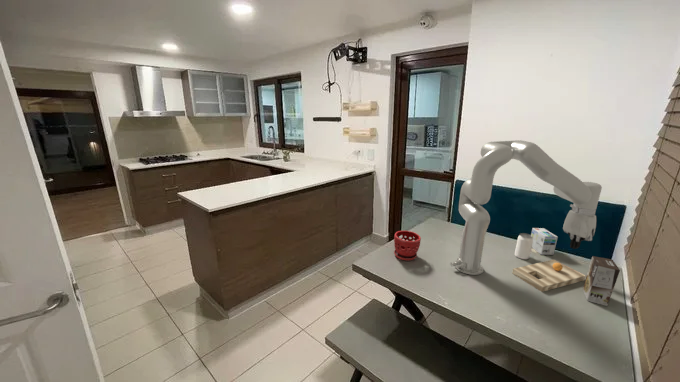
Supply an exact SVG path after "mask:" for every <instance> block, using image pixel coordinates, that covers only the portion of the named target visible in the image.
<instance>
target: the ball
mask: <svg viewBox="0 0 680 382" xmlns="http://www.w3.org/2000/svg"><path fill="white" fill-rule="evenodd" d="M560 263H561V262H560ZM560 263H554V264H553V268H554V269H555V270H557V271H560V270H562V268H563V266H562V265H561V264H560Z"/></svg>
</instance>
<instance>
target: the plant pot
mask: <svg viewBox="0 0 680 382" xmlns="http://www.w3.org/2000/svg"><path fill="white" fill-rule="evenodd" d="M400 236H401V238H400ZM421 240H422V238H421V236H420V235H419V234H418V233H417V232H414V231H410V230H398V231H396V232H395V233H394V236H393V242H394V243H393V245H394V251H393V254H394V256H395V257H396V258H398V259H399V260H401V261H402V260H403V261H408V262H409V261H413V260H415V259H416V258H417V255H418V251H419V249H420V246H421Z"/></svg>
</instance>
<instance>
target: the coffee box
mask: <svg viewBox="0 0 680 382" xmlns="http://www.w3.org/2000/svg"><path fill="white" fill-rule="evenodd" d="M620 271H621V270H620V268H619V267H618V265H617V264H616V263H615V261H614V259H612V258H611V259H610V258H605V257H599V256H594V255H592V257H591V258H590V263H589V266H588V270H587V273H586V277H585V280H584V284H583V287H582V290H583V293H584V296H585V299H586V301H587V302H591V303H594V304H598V305H601V306H605V307H607V306H609V303H610V299H611V297H612V294H613V292H614V289H615V286H616V283H617V280H618V277H619V275H620V274H619V273H621V272H620Z"/></svg>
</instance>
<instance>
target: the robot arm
mask: <svg viewBox="0 0 680 382" xmlns="http://www.w3.org/2000/svg"><path fill="white" fill-rule="evenodd" d="M480 155H481V157H480V159H479V160H478V161H477V162H476V163H475V165H474V167H473V169H472V174H471V178H468V179H467V180H465V181H464V182H463V184H462V185H461V188H460V194H459V201H458V212H459V214H460V216H461V217H462V218H463V220H464V221H465V224H464V226H463V229H462V233H461V241H460V248H459V256H458V257H457V259H456V260H455V261H451V262H450V263H449V265H450V267H455V268H456V269H457V271H459V272H461V273H463V274H465V275H466V274H467V275H470V276H478V275H481V274H483V273H484V266H482V265H481V264H482V258H483V250H484V246H485V239H486V234H487V231H488V230H487V229H488V228H489V225H490V222H491V216H490V214H489V212H488V211H487V209H486V208H484V207H483V205H485V204H486V205H487V203H489V201H490V199H491V197H492V189H493V183H494V178H495V175H496V172H497V171H498V170H499V169H500V168H502V167H503V166H504V165H506V164H508V163H509V162H510V161H511V160H516V161H519V162H520V163H521V164H522V165H524V166H525V167H526V168H527V169H529V171H531V172H532V174H533V175H535V176H536V177H537V178H539V179H540V180H542V181H543V182H545V183H547V184H549V185H550V186H553V192H554V194H555V195H556V196H558V197H560V198H561V199H564V200H567V201H569V202H571V204H569V207H571V209H570V210H569V211H568V213H567V214H566V217H565V219H564V221H563V222H564V223H563V227H562V230H563V232H564V233H566V234H568V236H569V238H570V239H569V240H570V243H569V248H570V249H573V250H576V249H579V248H580V246H581V243H582V242H584V241H587V242H592V241H593V237H594V236H595V232H596V228H597V215H596V211H597V207H598V205H599V204H598V203H599V200H600V196H601V193H602V188H603V187H602V185H601V184H599V183H597V182H592V181H582V180H581V179H579V178H578V177H577V176H576V175H574V174H573V173H571V172H570V171H568V170H567V169H566V168H565V167H563V166H562V165H560V164H559V163H557V162H556V161H555V160H554V159H553V158H552V157H550V156H549V154H547V152H545V150H543V149H542V148H541V147H540V146H539V145H538V144H536V143H535V142H531V141H525V140H522V139H521V140H517V139H516V140H498V141H489V142H485V144H484V145H482V147H481V148H480ZM572 203H573V204H572Z"/></svg>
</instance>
